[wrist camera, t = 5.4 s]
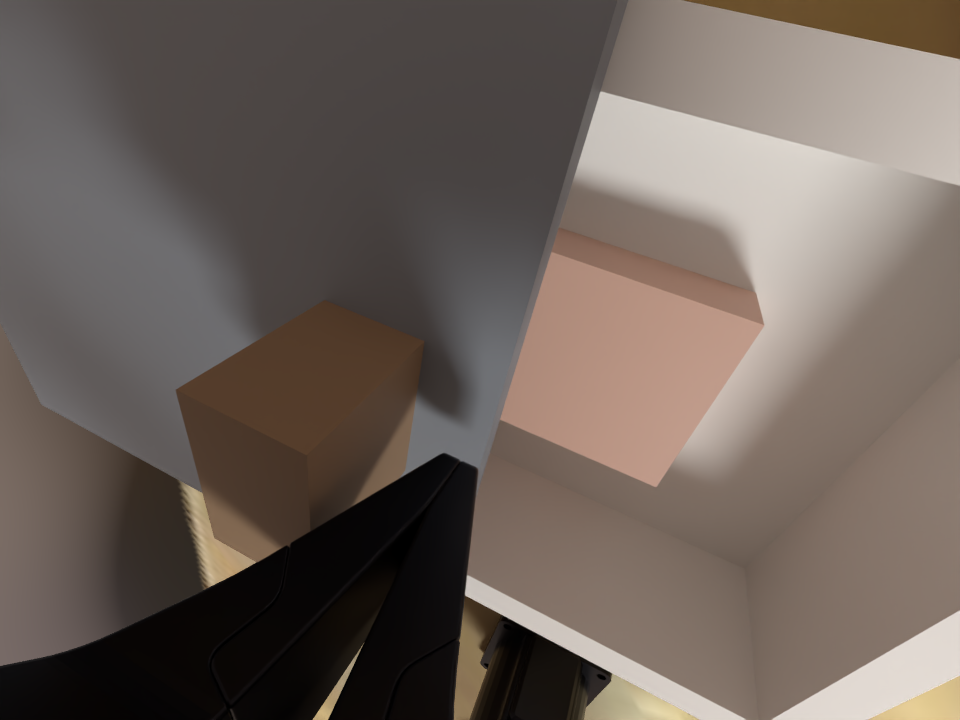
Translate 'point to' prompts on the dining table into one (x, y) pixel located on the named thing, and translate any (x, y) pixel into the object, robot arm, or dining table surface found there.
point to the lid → (286, 230)
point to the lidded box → (744, 378)
